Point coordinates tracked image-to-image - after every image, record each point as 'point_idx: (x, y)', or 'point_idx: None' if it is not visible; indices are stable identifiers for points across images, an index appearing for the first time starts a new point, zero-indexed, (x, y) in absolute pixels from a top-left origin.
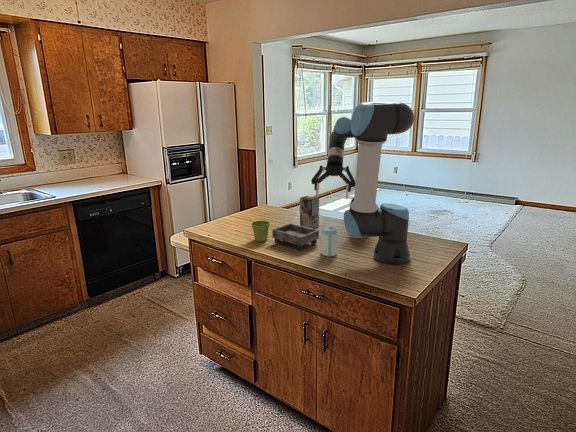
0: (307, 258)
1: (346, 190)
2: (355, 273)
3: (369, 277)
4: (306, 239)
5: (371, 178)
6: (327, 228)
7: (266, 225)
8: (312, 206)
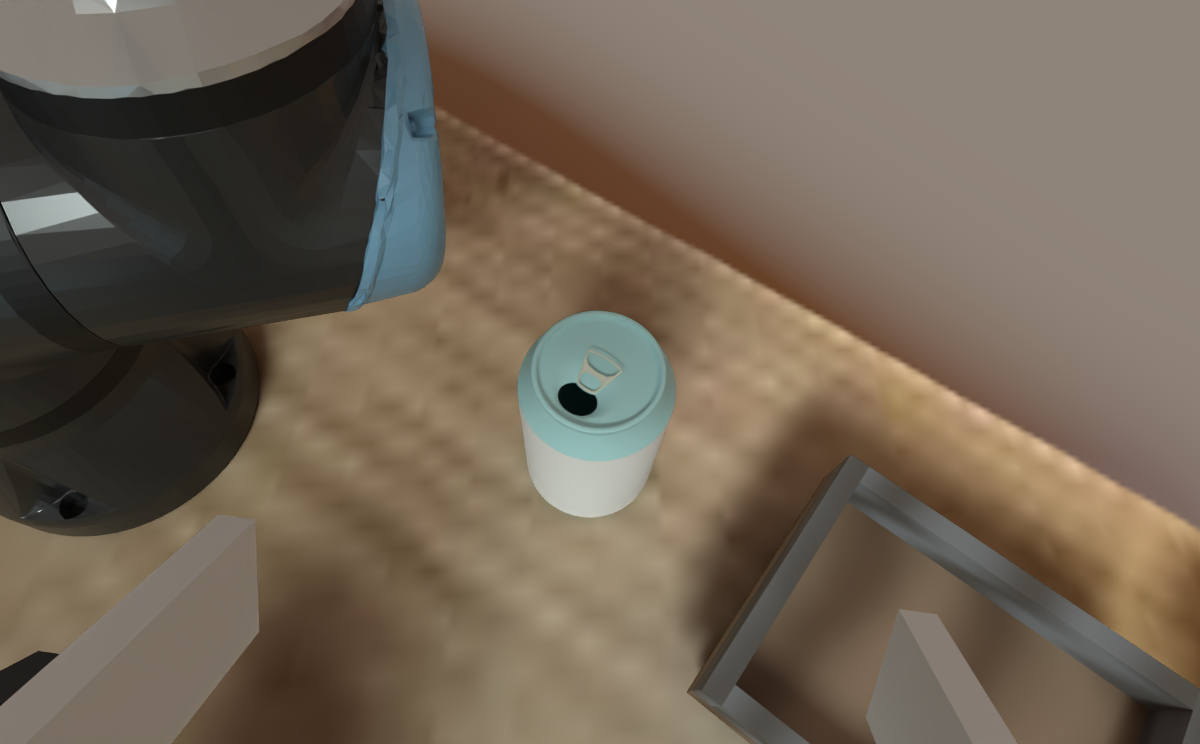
0: (742, 381)
1: (159, 605)
2: (447, 187)
3: None
4: (799, 525)
5: None
6: (616, 396)
7: None
8: None
